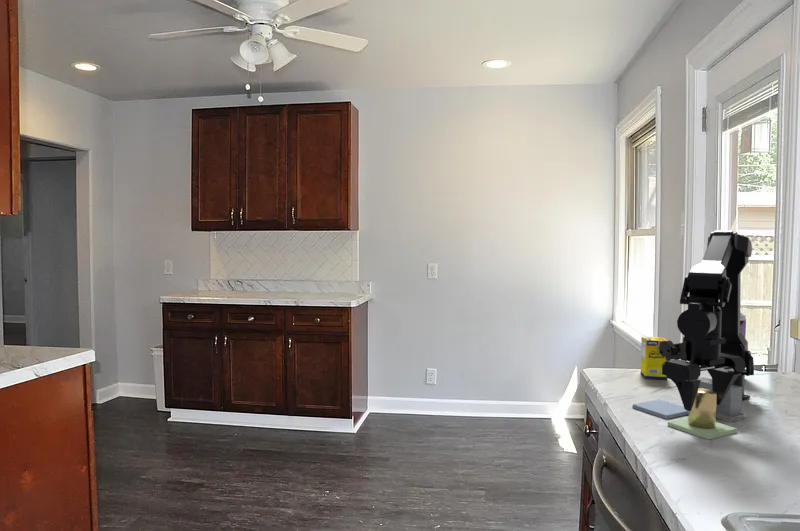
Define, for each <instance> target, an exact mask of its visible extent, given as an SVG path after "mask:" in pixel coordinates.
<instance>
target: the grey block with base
mask: <svg viewBox="0 0 800 531" xmlns="http://www.w3.org/2000/svg"><path fill="white" fill-rule="evenodd" d="M698 380H701V382H700V385H699V388H703V389H709V390H712V378H709V377H699V378H698ZM742 408H743V399H742V386H737V385H733V384H732V386H731V387H730V389H729V390H728V392H727V394H726V395H725V397H724V399H723V400H722V402H721V403H720V405H716V419H719V420H722V421H725V422H729V423H732V422H737V421H741V420H745V419H746V414H745V413H743V412H742V410H743V409H742Z"/></svg>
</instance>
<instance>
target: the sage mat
mask: <svg viewBox="0 0 800 531" xmlns="http://www.w3.org/2000/svg"><path fill="white" fill-rule="evenodd" d="M667 426H668V427H670V428H674V429H676V430H679V431H683V432H685V433H688V434H691V435H694V436H697V437H699V438H703V439H705V440H712V439H716V438H720V437H723V436H728V435H732V434H735V433H736V434H737V433H738V428H736V427H733V426H730V425H727V424H723V423H720V422H718V421H716V427H715V428H714V429H701V428H696V427H693V426H691V425H689V424H688V417H684V418H680V419H676V420H670V421H668V422H667Z"/></svg>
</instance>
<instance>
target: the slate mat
mask: <svg viewBox="0 0 800 531" xmlns="http://www.w3.org/2000/svg"><path fill="white" fill-rule="evenodd" d="M632 408H633V409H635V410H638V411H641V412H644V413H647V414H650V415H654V416H657V417H659V418H662V419H666V420H668V419H673V418H677V417H678V418H679V417H681V416H688V411H687V410H685V409H684V406H683V405H679V404H676V403H673V402H669V401H668V400H667V401H666V400H663V399H660V398H658V399H654V400H648V401H643V402H637V403H633V404H632Z"/></svg>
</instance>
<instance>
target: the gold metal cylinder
mask: <svg viewBox="0 0 800 531" xmlns="http://www.w3.org/2000/svg"><path fill="white" fill-rule="evenodd" d="M716 402H717V392H715V391H713V390H709V389H703V388H698V391H697V394H696V398H695V401H694V404H693V407H692V409H691V411H688V415H687V418H688V424H689V425H691V426H693V427H696V428H701V429H714V428H715V427H716V422H717V418H716Z"/></svg>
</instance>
